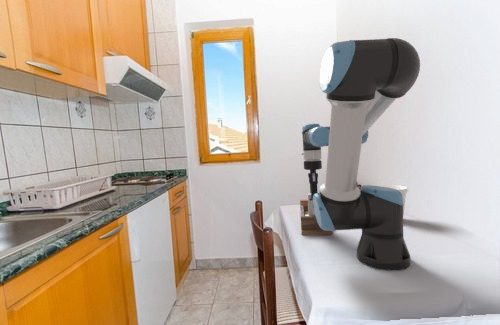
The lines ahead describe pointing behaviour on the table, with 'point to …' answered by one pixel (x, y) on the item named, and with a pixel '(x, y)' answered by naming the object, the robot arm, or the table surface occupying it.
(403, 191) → the cup
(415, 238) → the table surface
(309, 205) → the block
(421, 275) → the table surface
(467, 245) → the table surface
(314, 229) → the track
